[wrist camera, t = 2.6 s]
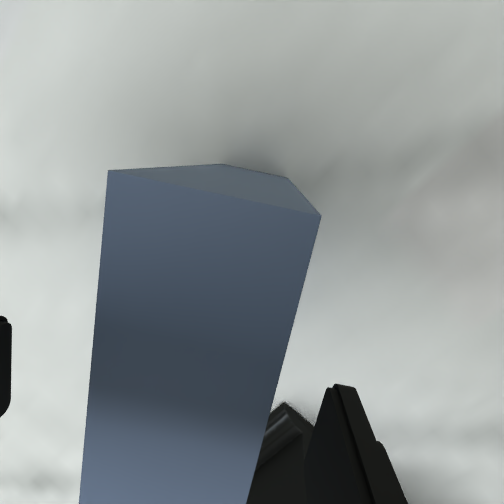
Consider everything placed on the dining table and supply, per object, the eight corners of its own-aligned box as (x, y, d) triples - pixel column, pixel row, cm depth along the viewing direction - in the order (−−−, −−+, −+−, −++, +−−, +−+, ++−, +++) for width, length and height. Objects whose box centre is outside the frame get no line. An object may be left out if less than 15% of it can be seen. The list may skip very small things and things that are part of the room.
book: (221, 163, 25) (108, 170, 8) (287, 177, 25) (321, 216, 8) (196, 309, 28) (75, 544, 11) (254, 322, 28) (226, 577, 11)
